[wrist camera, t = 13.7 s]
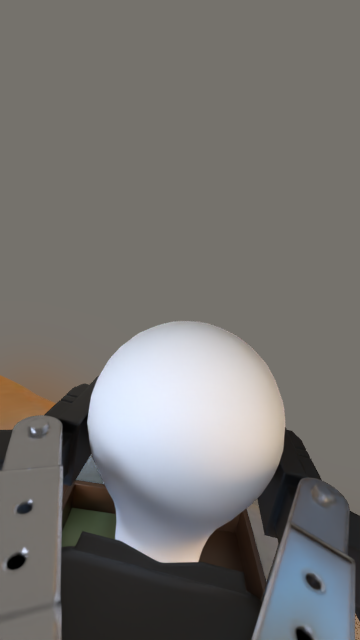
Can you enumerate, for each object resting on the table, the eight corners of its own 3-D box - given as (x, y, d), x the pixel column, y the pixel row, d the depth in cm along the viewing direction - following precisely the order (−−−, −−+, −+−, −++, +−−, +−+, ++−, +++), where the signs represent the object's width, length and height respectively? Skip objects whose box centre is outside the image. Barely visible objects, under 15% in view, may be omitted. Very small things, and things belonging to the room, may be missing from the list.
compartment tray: (-106, 602, 19) (-107, 563, 18) (-19, 495, 27) (-18, 465, 26) (263, 649, 20) (275, 614, 19) (237, 533, 28) (245, 505, 28)
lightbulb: (50, 551, 12) (82, 293, 10) (176, 510, 15) (223, 308, 13) (76, 789, 7) (155, 369, 5) (258, 655, 10) (359, 363, 8)
